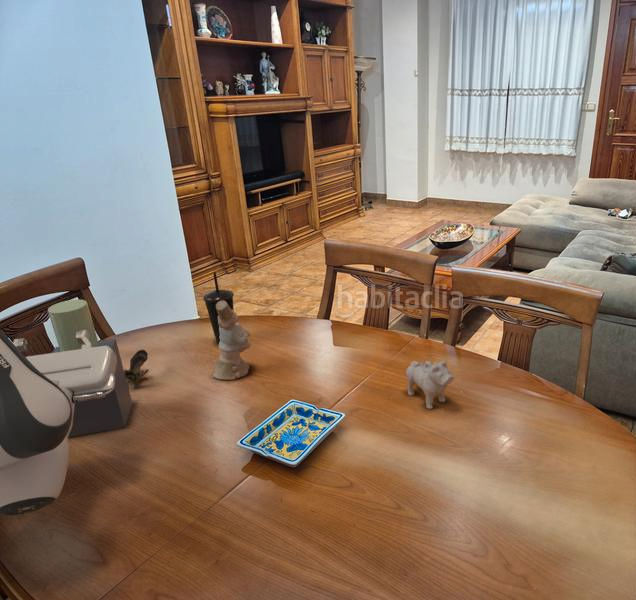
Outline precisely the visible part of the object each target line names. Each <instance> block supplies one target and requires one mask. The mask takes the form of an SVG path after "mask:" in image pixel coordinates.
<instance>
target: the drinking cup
mask: <svg viewBox="0 0 636 600" xmlns="http://www.w3.org/2000/svg"><path fill="white" fill-rule="evenodd" d="M212 276H213V281H214V285H215V286H214V287H215V289H214V290H211V291H209V292H207V293H206V294H204V295H203V296H202V300H203V301H204V303H205V307H206V310H207V315H208V317H209V321H210V324H211V327H212V332H213V334H214V338H215V342H216V344H217V346H219V342H220V338H219V336H220V334H219V327H220V326H218V324H219V323H218V318H217V317H218V316H219V315H218V312H217V310H216V304H217V303H218V302H219V301H226V302H227V304H228V305H229V307H230V308H231V309H232V310H233V312H234V313H235V311H234V310H235V309H234V297H235V296H234V295H235V294H234V292H233V291H232V290H227V289H219V284H218V283H219V282H218V277H217V271H215V272H214V271H213V272H212Z"/></svg>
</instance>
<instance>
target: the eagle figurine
mask: <svg viewBox="0 0 636 600" xmlns="http://www.w3.org/2000/svg"><path fill="white" fill-rule="evenodd" d="M148 356H149V355H148V352H147V350H145V349H140V350H137V351H136V352H135V354H134V355H133V356H132V357H131V358H130V360H129V364H130V365H129V369H125V368H124V373H125V376H126V378H129V379H130V380H128V381H127V384H130V383H132V384H133V388H134V390H135V389H137V387H138V385H139V383H140V380H141V379H147V380H148V379H149V378H148V376H147V373H148V371H149V368H147V369H145V370H144V372H143V370H142V369H141V367H142V366H144V364H145V363H146V362H147V361H148Z"/></svg>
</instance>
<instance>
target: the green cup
mask: <svg viewBox="0 0 636 600" xmlns="http://www.w3.org/2000/svg"><path fill="white" fill-rule="evenodd" d="M47 312H48V316H49V319H50V323H51V325H52V329H53V331H54V336H55V339H56V342H57V345H58V347H59V348H60V351H61V352H64V351H71V350H78V349H82V345H85V343H83V344H79V342H78V340H77V339H76V335H77V331H81V330H87V331H88V333H89V342H90V343H91V345H92V346H93V347H99V343H98V341H99V340H98V339H99V338H98V336H97V332H96V329H95V325H94V321H93V317H92V315H91V311H90V307H89V305H88V302H87V300H85V299H70V300H64V301H61V302H57V303H55V304H53V305H50V306H49V307H48V308H47Z"/></svg>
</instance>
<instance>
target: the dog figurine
mask: <svg viewBox="0 0 636 600" xmlns="http://www.w3.org/2000/svg"><path fill="white" fill-rule="evenodd" d="M405 377H406V379H407V380H406V381H407V395H409V396H414V395H415V394H416V393H415V392H414V390H413V388H414V386H415V385H417V386H418V387H419V388H420V389H421V390H422V392H423V394H424V395H425V404H426V405H425V406H426V407H425V408H427V409H429V410H430V409H433V408H434V406H433V401H434V397H435V396H438V398H437V399H438V401H439V402H441V403H444V402H446V398H445V391H446V390H447V388H448V386H449V384H452V383H453V381H454V380H455V376H454V375H453V374H452V373H451V370H450V369H449V368H448V366H447V361H446V360H443V361H442V360H441V361H440V362H435V363H434V364H433V363H432V361H430V360H426V361H424V363H423V362H419V361H418V360H412V361H411V363H410V365H409V366H408V367H407V369H406V371H405Z"/></svg>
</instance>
